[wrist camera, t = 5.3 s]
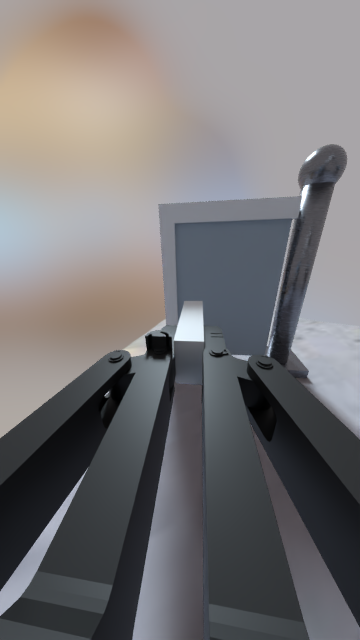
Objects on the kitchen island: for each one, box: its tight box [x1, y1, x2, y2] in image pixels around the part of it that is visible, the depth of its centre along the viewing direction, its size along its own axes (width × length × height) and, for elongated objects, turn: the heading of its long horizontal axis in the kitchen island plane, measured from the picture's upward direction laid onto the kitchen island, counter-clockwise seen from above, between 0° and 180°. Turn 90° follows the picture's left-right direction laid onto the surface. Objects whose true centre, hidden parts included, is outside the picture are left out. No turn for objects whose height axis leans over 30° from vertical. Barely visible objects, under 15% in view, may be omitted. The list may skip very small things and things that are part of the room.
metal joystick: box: [252, 144, 347, 378], centre depth 18 cm, size 5×5×22 cm
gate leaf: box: [159, 196, 302, 355], centre depth 20 cm, size 12×2×17 cm, turn 84°
